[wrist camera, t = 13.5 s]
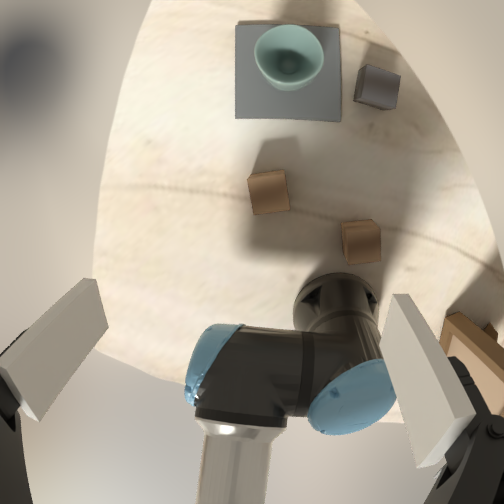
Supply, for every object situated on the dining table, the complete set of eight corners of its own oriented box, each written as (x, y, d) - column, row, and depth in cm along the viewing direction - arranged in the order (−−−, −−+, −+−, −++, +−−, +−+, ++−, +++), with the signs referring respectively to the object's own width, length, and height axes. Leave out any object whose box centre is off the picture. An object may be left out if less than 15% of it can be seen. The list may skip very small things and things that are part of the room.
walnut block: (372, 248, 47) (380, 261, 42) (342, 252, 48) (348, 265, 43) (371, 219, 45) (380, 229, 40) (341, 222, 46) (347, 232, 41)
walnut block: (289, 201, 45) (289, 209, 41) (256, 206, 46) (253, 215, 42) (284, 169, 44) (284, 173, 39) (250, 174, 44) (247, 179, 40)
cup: (299, 38, 35) (303, 14, 25) (325, 83, 37) (336, 69, 28) (251, 59, 37) (241, 40, 27) (276, 104, 39) (274, 95, 30)
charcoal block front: (384, 110, 38) (395, 108, 34) (353, 100, 38) (361, 97, 34) (389, 80, 36) (400, 76, 32) (358, 71, 37) (367, 64, 32)
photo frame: (423, 388, 58) (455, 471, 35) (443, 315, 50) (501, 404, 27) (471, 374, 56) (509, 446, 33) (495, 302, 48) (557, 375, 25)
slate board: (339, 122, 40) (340, 121, 39) (236, 118, 41) (235, 118, 40) (337, 30, 34) (338, 28, 33) (236, 27, 36) (235, 25, 35)
